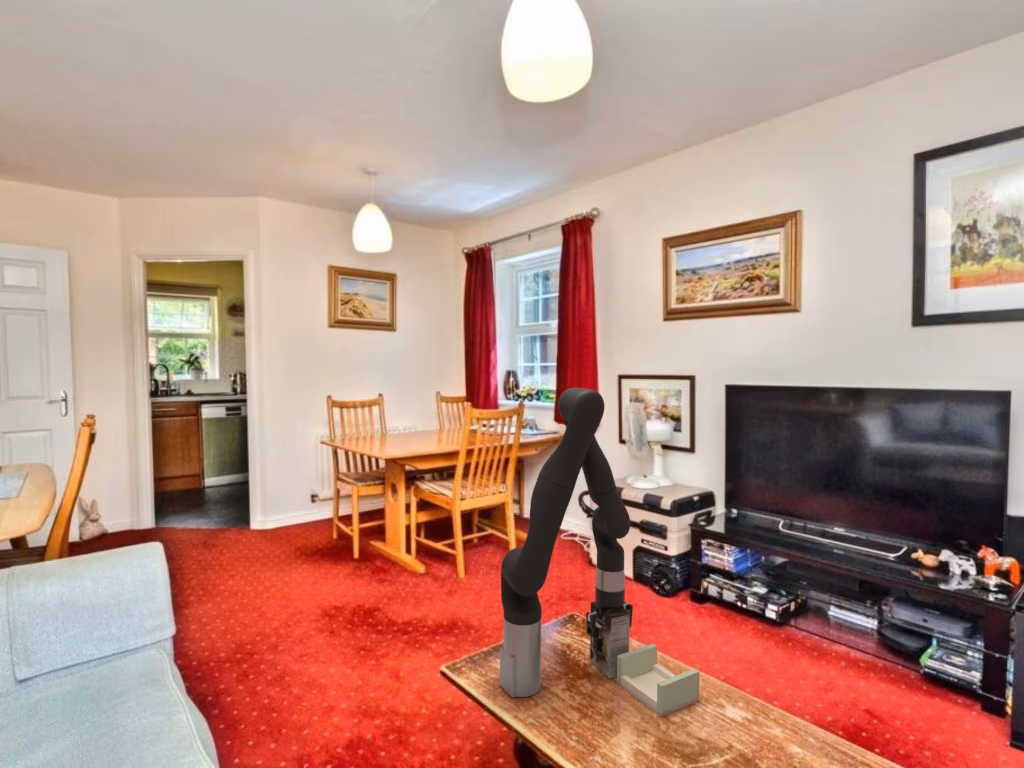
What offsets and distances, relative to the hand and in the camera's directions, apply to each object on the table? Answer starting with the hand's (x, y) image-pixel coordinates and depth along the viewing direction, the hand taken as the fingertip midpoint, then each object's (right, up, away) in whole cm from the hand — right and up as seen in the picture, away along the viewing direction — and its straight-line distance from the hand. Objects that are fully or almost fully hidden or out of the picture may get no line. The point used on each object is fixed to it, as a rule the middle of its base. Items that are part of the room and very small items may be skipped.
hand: (609, 647), depth 143 cm
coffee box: (0, -5, 0) cm, 5 cm away
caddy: (+10, -6, -10) cm, 15 cm away
